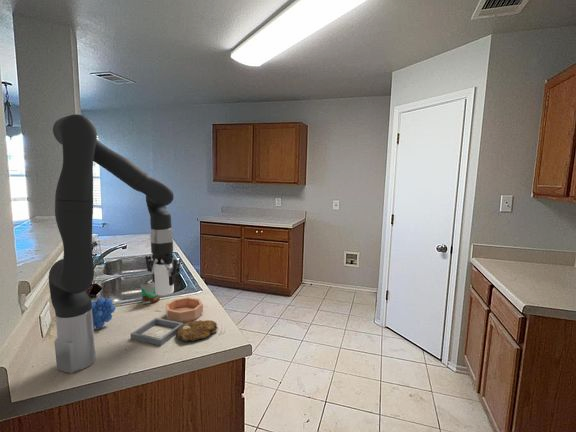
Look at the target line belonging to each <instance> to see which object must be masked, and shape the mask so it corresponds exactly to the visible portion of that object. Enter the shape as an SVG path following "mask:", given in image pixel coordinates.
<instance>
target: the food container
mask: <svg viewBox="0 0 576 432" xmlns="http://www.w3.org/2000/svg"><path fill="white" fill-rule="evenodd" d="M140 285H141V286H140V290H141V295H142V296H141V297H142V305H143V306H148V305H149V306H150V305H154V304H156V303H158V302H159V301H160V300H161V299H160V297H161V296H158V295H157V294H156V292H155V283H154V281H153V275H152V277H151V279H149V280H147V281H146V282H145V283H144V284H140Z"/></svg>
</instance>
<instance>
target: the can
mask: <svg viewBox="0 0 576 432" xmlns="http://www.w3.org/2000/svg"><path fill="white" fill-rule="evenodd" d="M167 266H168V267H169V268H171V267H172V264H169V265H167ZM170 271H171V272H172V269H170ZM154 275H155V292H156V294H157V295H158V296H160V297H166V296H171V295H172V294H173V293H174V292H175V288H174V287H175V283H174V284H173V285H171V286H170V285H169V275H168V270H167V268H166V266H165V264H156V263H155V266H154Z"/></svg>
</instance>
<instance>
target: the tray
mask: <svg viewBox="0 0 576 432" xmlns="http://www.w3.org/2000/svg"><path fill="white" fill-rule="evenodd" d="M183 324H185V322H184V323H181V322H175V321H170V320H168V319H163V318H159V317H155V318H153V319H152V320H150V321H148V322H147V323H145V324H143V325H142V326H141V327H139V328H138V329H136V330H134V331H133V332H131V333H130V340H133V341H138V342H143V343H147V344H152V345H156V346H163V345H164V344H166V343H167V342H168V341H170V339H171V340H172V338H173V337H174V336H176V333H177V332H178V329H179V328H180V327H181V326H182V325H183ZM155 325H160V326H164V327H169V328H173V329H171V330H170V331H168V332H167V333H166V334H164V335H163V336H161V338H159V337H155V336H150V335H145V334H143V333H145V332H147V331H149V330H150V329H151V328H153V327H155Z"/></svg>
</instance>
